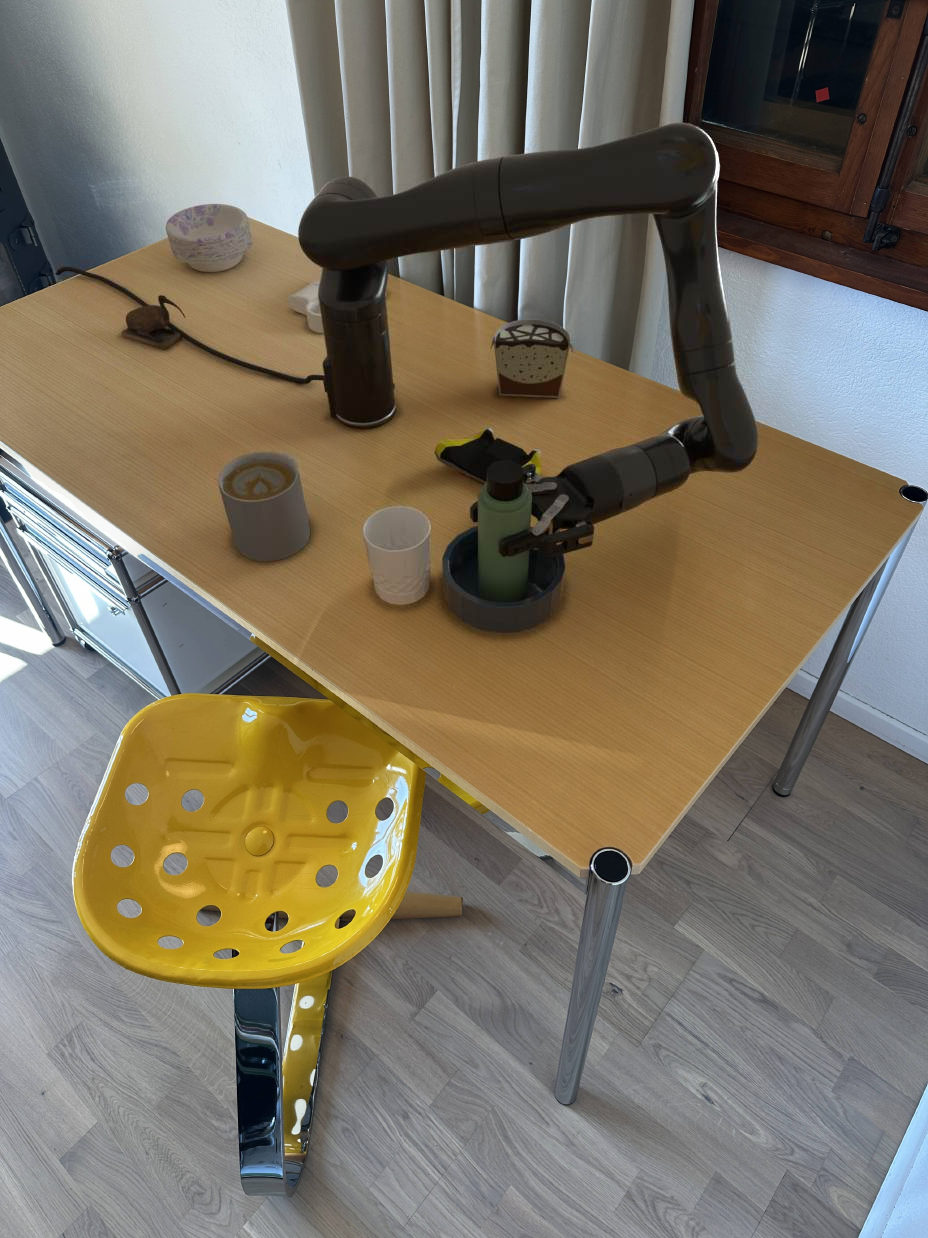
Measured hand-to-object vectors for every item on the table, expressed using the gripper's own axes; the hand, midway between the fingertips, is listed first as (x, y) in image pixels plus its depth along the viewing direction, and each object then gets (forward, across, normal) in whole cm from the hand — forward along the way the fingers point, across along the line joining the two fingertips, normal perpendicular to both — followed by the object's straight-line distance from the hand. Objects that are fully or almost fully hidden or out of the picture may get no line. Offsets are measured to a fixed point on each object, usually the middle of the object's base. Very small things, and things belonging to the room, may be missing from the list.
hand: (486, 531), depth 99 cm
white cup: (+8, -7, +11) cm, 15 cm away
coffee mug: (+17, -25, +11) cm, 32 cm away
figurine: (+18, -80, +11) cm, 83 cm away
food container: (-29, -37, +11) cm, 48 cm away
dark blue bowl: (-2, 0, +11) cm, 11 cm away
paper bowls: (+1, -104, +11) cm, 104 cm away
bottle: (-2, 0, +10) cm, 11 cm away
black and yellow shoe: (-12, -20, +11) cm, 26 cm away
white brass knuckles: (-13, -75, +11) cm, 77 cm away
